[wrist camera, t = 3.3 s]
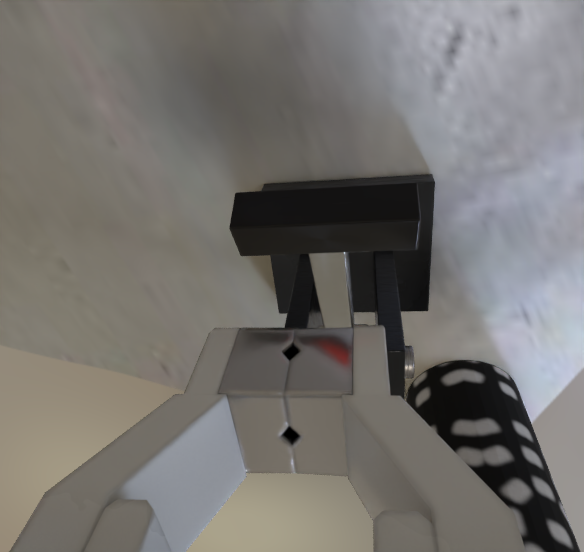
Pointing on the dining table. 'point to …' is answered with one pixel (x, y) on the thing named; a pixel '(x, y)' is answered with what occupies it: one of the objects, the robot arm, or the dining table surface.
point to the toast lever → (328, 232)
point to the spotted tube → (495, 445)
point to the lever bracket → (366, 279)
